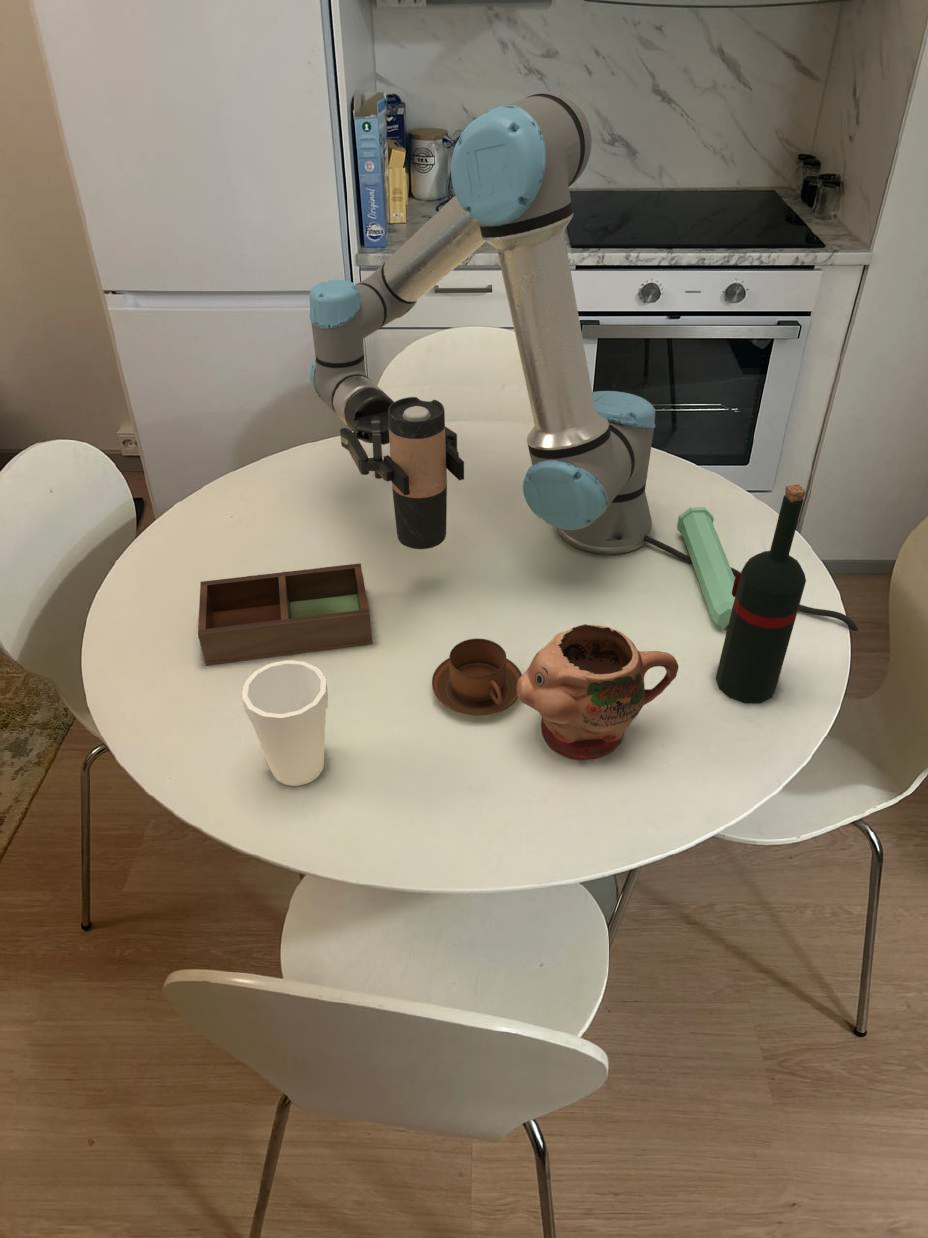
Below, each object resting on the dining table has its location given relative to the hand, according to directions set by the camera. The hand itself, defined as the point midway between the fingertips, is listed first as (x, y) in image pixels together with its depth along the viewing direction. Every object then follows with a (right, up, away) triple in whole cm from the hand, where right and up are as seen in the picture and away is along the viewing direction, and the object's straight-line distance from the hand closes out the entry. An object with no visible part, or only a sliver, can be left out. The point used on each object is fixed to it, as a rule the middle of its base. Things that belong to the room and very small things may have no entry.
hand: (434, 478), depth 122 cm
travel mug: (-2, -7, +11) cm, 13 cm away
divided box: (-21, -20, +10) cm, 31 cm away
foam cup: (-16, -37, -11) cm, 42 cm away
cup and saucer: (+6, -29, -1) cm, 29 cm away
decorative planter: (+20, -33, -6) cm, 39 cm away
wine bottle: (+41, -27, +1) cm, 49 cm away
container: (+41, -13, +18) cm, 47 cm away
